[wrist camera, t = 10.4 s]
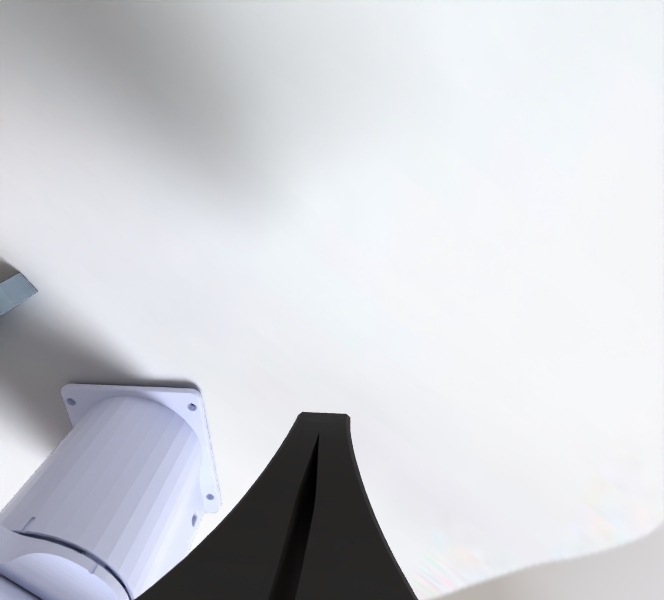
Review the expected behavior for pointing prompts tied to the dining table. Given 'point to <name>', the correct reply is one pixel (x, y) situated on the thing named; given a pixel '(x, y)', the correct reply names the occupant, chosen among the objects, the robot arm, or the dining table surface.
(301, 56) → the dining table surface
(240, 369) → the dining table surface
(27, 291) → the groove ring
